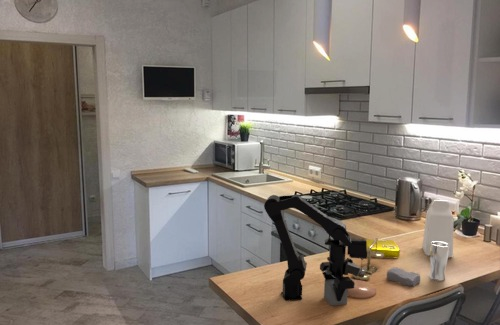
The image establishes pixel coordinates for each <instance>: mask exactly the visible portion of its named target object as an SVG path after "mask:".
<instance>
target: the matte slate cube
mask: <svg viewBox="0 0 500 325" xmlns="http://www.w3.org/2000/svg"><path fill="white" fill-rule="evenodd" d="M334 280H335V279H329V280H325V279H324V288H323V290H324V291H323V299H325V301H326V302H327V303H328V305H329V306H340V305H348V296H347V293H348V289H346V290H345V292H344V294H343V296H342V299H341V301H337V298H336V295H335V291H334V288H333V284H334Z"/></svg>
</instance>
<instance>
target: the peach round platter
mask: <svg viewBox="0 0 500 325" xmlns="http://www.w3.org/2000/svg"><path fill="white" fill-rule="evenodd" d="M351 280H352V281H353V282H354V283H355V285H354V288H352V289H348V293H347V297H350V298H354V299H369V298H373V297H374V296H375V295H376V294H377V287H376V286H375V284H372V283H371V282H368V281H366V280H358V279H351Z"/></svg>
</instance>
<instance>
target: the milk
mask: <svg viewBox="0 0 500 325" xmlns="http://www.w3.org/2000/svg"><path fill="white" fill-rule="evenodd" d="M424 222H425V223H424V229H423V230H424V231H423V239H422V247H423V248H422V250H423V253H424V252H425V253H424V255H425V254H426V255H425V256H429V255H430V248H431V242H434V241H440V242H444V243H447V244H448V258H450V257H454V215H453V213H452V209H451V206H450V203H449V200H447V199H446V200H445V199H434V200H433V201H432V203H431V205H430V206H429V207H428V209H427V211H426V216H425V221H424Z"/></svg>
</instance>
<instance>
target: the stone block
mask: <svg viewBox="0 0 500 325" xmlns="http://www.w3.org/2000/svg"><path fill="white" fill-rule="evenodd" d="M386 280H389V281H392V282H395V283H398V284H401V285H404V286H408V287H414V286H416V285H417V284H419V283H420V281H421V275H420V274H419V273H415V272H413V271H407V270H405V269H402V268H401V267H400V268H399V267H398V266H397V267H396V266H395V267H392V268H390V269H388V270H387V272H386Z"/></svg>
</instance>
